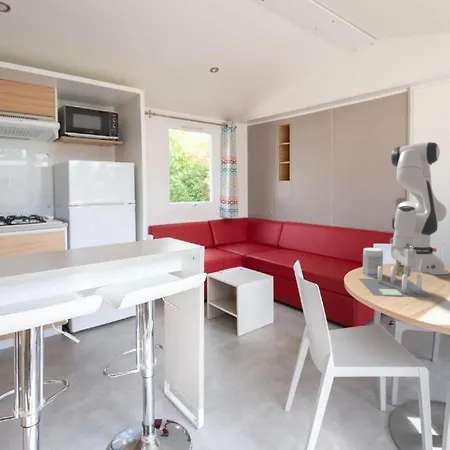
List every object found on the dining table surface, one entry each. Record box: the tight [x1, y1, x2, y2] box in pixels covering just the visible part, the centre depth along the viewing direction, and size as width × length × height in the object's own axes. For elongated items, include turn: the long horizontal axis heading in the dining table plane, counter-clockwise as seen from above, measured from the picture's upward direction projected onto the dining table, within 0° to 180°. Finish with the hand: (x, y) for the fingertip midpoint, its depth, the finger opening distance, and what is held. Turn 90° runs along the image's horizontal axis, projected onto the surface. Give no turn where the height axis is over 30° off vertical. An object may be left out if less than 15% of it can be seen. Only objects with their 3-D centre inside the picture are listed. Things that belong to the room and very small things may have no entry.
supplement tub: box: [362, 247, 384, 278], centre depth 178 cm, size 10×10×15 cm
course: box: [358, 266, 434, 299], centre depth 156 cm, size 24×26×9 cm
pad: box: [379, 289, 403, 297], centre depth 148 cm, size 8×8×1 cm
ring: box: [394, 264, 411, 278], centre depth 154 cm, size 6×6×4 cm
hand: (402, 272), depth 154 cm, fingers closed on ring, 6 cm apart
